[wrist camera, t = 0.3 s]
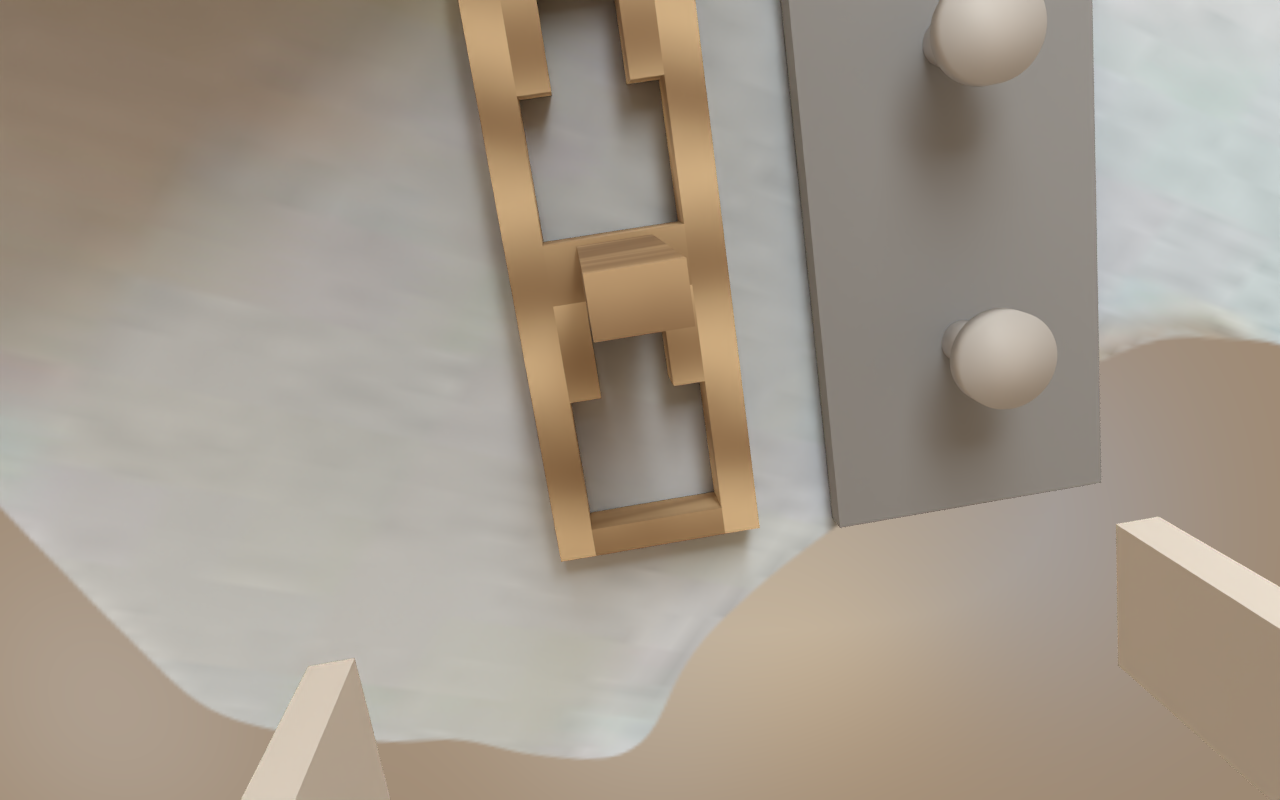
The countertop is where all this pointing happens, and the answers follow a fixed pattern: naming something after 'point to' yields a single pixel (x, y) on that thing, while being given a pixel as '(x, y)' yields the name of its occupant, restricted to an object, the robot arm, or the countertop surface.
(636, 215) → the countertop surface
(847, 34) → the board
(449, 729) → the countertop surface
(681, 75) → the ball track frame
